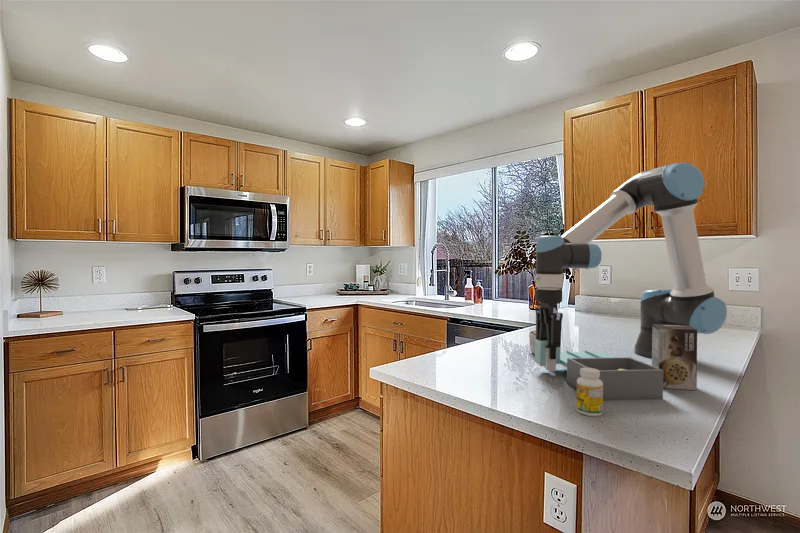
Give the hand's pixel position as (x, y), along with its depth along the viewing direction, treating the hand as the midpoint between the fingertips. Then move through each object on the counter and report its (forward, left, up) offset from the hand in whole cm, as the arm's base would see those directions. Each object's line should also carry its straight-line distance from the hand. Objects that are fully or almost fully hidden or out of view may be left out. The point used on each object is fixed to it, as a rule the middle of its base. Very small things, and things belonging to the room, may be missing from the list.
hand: (547, 367), depth 125 cm
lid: (-9, 0, +2) cm, 9 cm away
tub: (-10, +16, -2) cm, 19 cm away
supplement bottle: (+4, +30, -2) cm, 31 cm away
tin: (-6, -21, -2) cm, 21 cm away
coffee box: (-29, +13, -2) cm, 32 cm away
